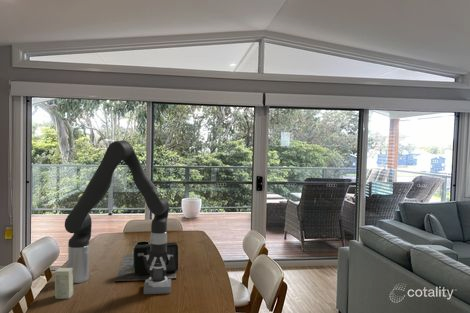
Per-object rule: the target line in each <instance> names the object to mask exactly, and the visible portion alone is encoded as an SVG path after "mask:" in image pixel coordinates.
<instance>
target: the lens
mask: <svg viewBox="0 0 470 313" xmlns="http://www.w3.org/2000/svg"><path fill="white" fill-rule="evenodd" d="M153 281H154V282H161V281H163V266H162V263H155V264H154V266H153Z"/></svg>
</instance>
